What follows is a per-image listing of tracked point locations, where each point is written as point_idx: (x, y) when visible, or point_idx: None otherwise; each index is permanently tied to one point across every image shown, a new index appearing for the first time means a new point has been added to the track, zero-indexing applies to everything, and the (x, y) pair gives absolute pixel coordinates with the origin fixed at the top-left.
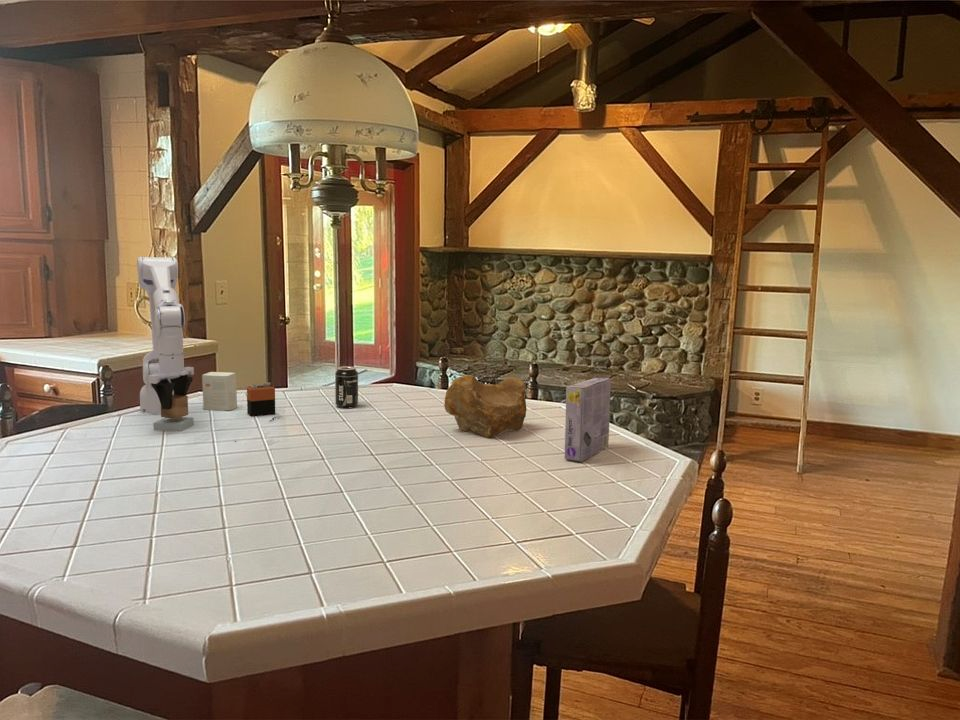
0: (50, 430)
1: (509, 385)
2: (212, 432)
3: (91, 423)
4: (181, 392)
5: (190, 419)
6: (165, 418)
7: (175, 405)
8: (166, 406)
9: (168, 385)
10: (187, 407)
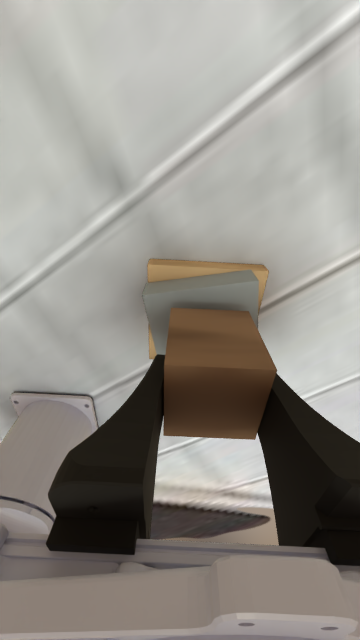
0: (243, 498)
1: None
2: (157, 183)
3: (178, 482)
4: (157, 411)
5: (169, 290)
6: None
7: (264, 349)
8: None
9: None
10: (172, 325)
